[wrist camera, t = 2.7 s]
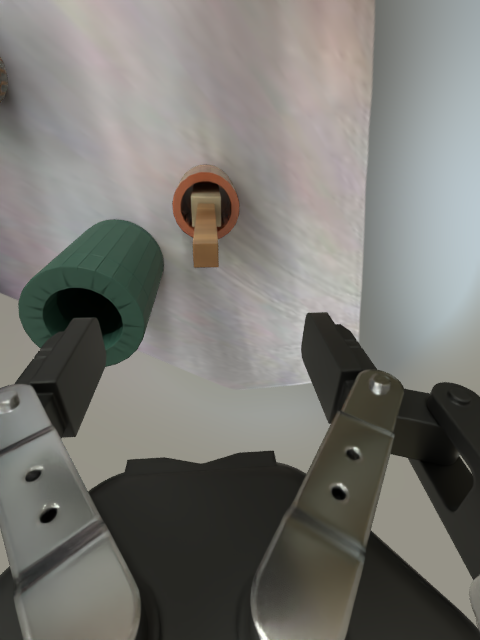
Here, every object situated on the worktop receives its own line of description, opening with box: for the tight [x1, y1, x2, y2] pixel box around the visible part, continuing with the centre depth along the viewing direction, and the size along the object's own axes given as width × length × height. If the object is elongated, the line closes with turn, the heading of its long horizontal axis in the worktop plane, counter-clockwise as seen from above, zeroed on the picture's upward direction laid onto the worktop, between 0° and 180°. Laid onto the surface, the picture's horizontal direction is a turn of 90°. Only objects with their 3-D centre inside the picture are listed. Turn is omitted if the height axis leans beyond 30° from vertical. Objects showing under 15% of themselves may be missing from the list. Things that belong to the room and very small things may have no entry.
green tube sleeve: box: [18, 220, 164, 367], centre depth 35 cm, size 10×10×15 cm
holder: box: [172, 165, 239, 239], centre depth 35 cm, size 7×7×7 cm
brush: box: [191, 183, 221, 268], centre depth 29 cm, size 3×3×20 cm
